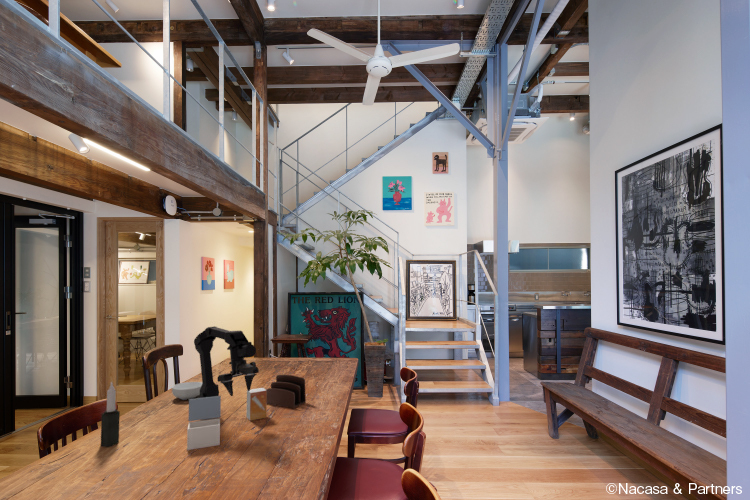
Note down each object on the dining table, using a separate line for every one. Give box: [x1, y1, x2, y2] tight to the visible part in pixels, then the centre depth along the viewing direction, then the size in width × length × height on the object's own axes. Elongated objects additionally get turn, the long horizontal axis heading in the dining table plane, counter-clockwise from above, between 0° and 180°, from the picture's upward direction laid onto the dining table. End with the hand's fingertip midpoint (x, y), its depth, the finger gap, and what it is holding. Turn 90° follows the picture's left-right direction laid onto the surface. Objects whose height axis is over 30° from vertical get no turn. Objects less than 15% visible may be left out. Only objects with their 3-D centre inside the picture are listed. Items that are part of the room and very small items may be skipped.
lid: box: [188, 395, 222, 422], centre depth 166 cm, size 9×12×1 cm
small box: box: [246, 387, 268, 421], centre depth 190 cm, size 8×6×13 cm
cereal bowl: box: [171, 381, 202, 401], centre depth 223 cm, size 17×17×7 cm
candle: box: [100, 381, 121, 448], centre depth 162 cm, size 5×5×25 cm
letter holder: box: [265, 374, 307, 409], centre depth 211 cm, size 10×20×14 cm, turn 64°
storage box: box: [186, 417, 221, 451], centre depth 161 cm, size 8×12×8 cm, turn 112°
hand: (240, 393), depth 179 cm, fingers open, 9 cm apart
